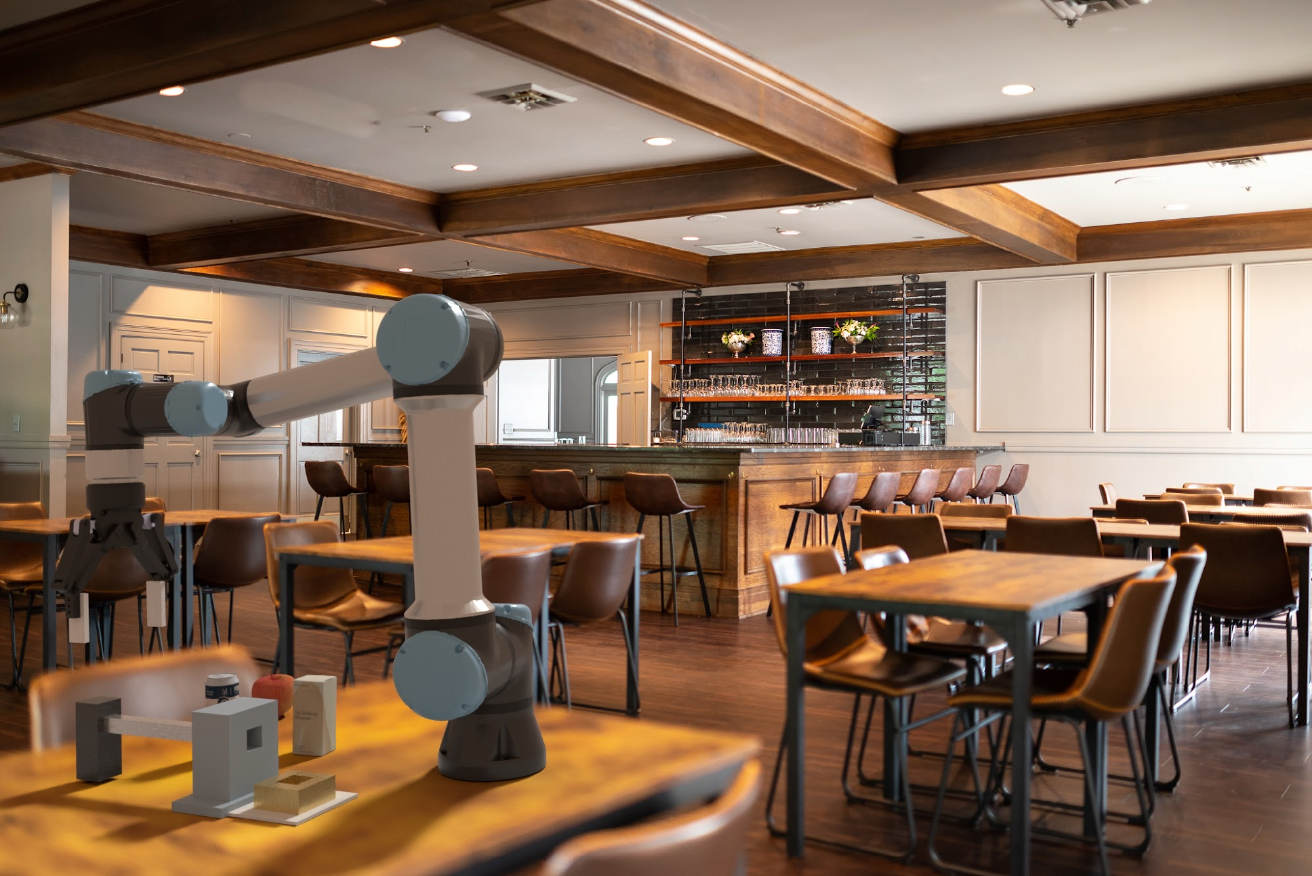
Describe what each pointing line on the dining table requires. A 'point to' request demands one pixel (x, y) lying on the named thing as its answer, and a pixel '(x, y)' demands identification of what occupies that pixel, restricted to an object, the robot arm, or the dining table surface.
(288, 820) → the mat
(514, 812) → the dining table surface
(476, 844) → the dining table surface
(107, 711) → the shaft
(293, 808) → the collar
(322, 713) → the box
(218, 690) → the beer can
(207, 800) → the bearing block
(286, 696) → the apple
